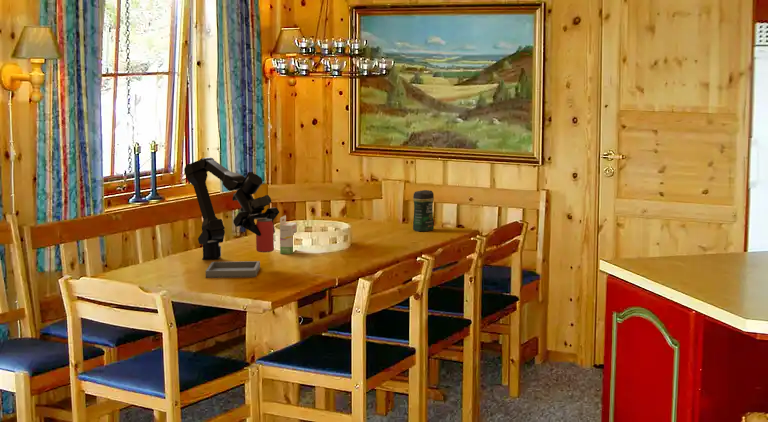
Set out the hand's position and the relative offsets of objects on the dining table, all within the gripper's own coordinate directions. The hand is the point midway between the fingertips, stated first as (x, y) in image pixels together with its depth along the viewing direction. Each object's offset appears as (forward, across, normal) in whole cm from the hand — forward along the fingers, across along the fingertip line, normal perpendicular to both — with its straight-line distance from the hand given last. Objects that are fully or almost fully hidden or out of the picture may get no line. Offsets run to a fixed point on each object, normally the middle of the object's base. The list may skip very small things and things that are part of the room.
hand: (267, 234), depth 389 cm
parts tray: (+6, -13, +12) cm, 19 cm away
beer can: (+4, 0, +6) cm, 7 cm away
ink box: (-5, +30, +24) cm, 39 cm away
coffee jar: (-1, +108, +20) cm, 110 cm away
